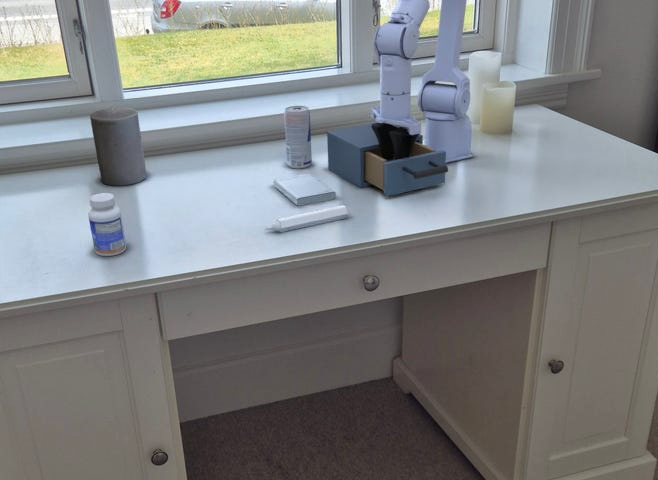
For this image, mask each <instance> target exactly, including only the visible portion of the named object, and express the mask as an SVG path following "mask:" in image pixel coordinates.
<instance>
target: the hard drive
mask: <svg viewBox="0 0 658 480" xmlns="http://www.w3.org/2000/svg"><path fill="white" fill-rule="evenodd" d="M273 187H275V188H276V189H277V190H278V191H280V193H282V194H283V196H285V197H287V198H288V199H289V200H290V201H291V202H293V203H294V204H295V205H296V206H305V205H310V204H315V203H321V202H327V201H331V200H332V201H333V200H335V199H336V198H337V192H336V191H335V190H333V189H332V188H331V187H329V186H328V185H326V184H325V183H324V182H322V181H321V180H320V179H318V178H317V177H315V175H313V174H312V173H303V174H297V175H292V176H287V177H286V176H285V177H283V178H282V177H281V178H275V179H274V180H273Z"/></svg>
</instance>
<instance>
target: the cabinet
mask: <svg viewBox="0 0 658 480" xmlns="http://www.w3.org/2000/svg"><path fill="white" fill-rule="evenodd" d="M375 123H377V122H376V121H375V122H370V123H366V124H365V123H364V124H360V125H355V126H354V125H353V126H349V127H344V128H338V129H334V130H327V131H326V135H327V136H326V137H327V138H326V140H327V143H326V144H327V167H328V171H330V172H331V173H334V174H335V175H337V176H339V177H341V178H342V179H344V180H345V181H348V182H349V183H351V184H353V185H355V186H357V187H359V189H360V188H367V187H370V186H371V187H372V186H374V185H373V184H371V183H369V182H368V181H366V180H364V151H367V150H372V149H377V148H380V146H379V143H378V140H377V137H376V135H375V133H374V131H373V129H372V124H375ZM398 130H399V129H398ZM423 138H424V136H423V135H422V134H421V133H420V134H419V135H418V137H417V138H416V140H415V141H416V142H418V143H421V144H423V142H424V141H423V140H424V139H423ZM423 145H424V144H423Z"/></svg>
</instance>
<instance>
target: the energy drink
mask: <svg viewBox="0 0 658 480" xmlns="http://www.w3.org/2000/svg"><path fill="white" fill-rule="evenodd" d="M283 115H284V117H283V118H284V131H285V132H284V133H285V134H284V135H285V136H284V137H285V153H286V165H287V166H288V167H289V168H291V169H305V168H309V167H310V166H311V165H312V164H313V161H312V160H313V158H312V156H313V155H312V137H311V135H312V134H311V112H310V109H309V107H308V106H306V105H291V106H288V107H285V108H284V113H283Z"/></svg>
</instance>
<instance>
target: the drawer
mask: <svg viewBox="0 0 658 480" xmlns="http://www.w3.org/2000/svg"><path fill="white" fill-rule="evenodd" d="M446 164H447V163H446V151H443V150H441V151H436V150H434V149H432V148H430V147H428V146H425V144H421V143H418V142H416V141H415V142H414V144H413V146H412V149H411V152H410V155H409V157H408V158H403V159H398V160H395V153H394V158H393V159H390V160H385V159H383V158H382V154H381V150H380V148H377V149H372V150H367V151H364V180H366V181H368V182H369V183H371V184H373V185H372V186H374V187H377V188H378V189H380V190H383V195H384V196H386V197H389V196H393V195H398V194H402V193H406V192H411V191H415V190H420V189H424V188H429V187H433V186H437V185H442V184H445V183H446V173H448V172H449V167H448V165H446Z"/></svg>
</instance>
